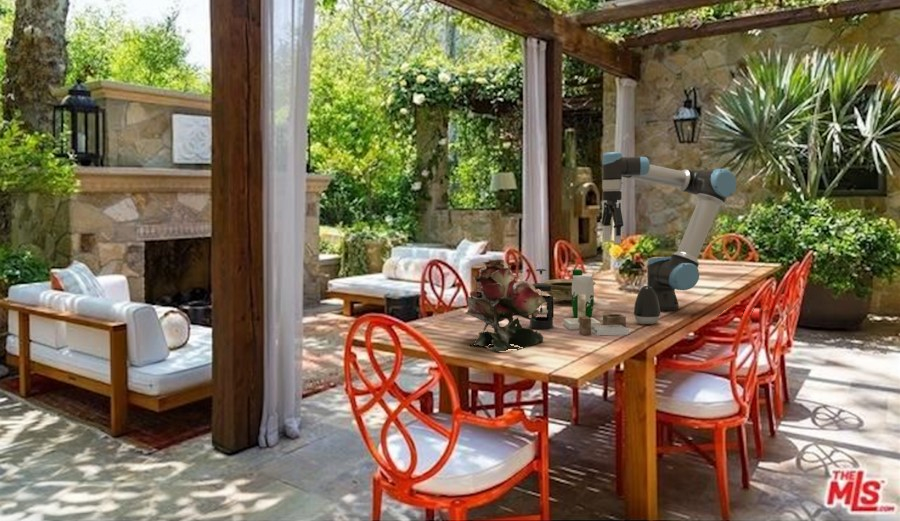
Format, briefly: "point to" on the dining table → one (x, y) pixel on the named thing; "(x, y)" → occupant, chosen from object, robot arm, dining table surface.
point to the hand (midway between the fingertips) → (612, 242)
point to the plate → (609, 330)
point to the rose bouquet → (504, 307)
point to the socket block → (614, 319)
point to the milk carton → (582, 291)
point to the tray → (574, 325)
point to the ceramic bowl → (561, 289)
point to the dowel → (581, 306)
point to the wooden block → (585, 325)
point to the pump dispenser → (647, 306)
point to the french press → (543, 321)
